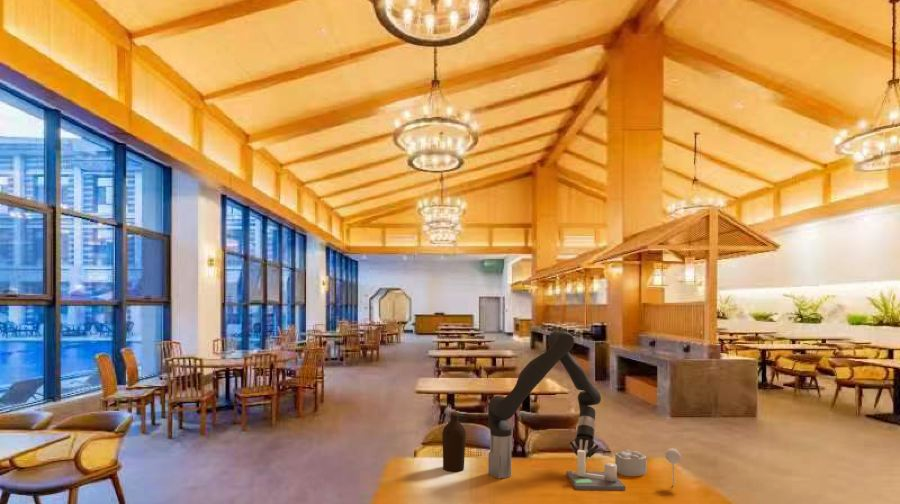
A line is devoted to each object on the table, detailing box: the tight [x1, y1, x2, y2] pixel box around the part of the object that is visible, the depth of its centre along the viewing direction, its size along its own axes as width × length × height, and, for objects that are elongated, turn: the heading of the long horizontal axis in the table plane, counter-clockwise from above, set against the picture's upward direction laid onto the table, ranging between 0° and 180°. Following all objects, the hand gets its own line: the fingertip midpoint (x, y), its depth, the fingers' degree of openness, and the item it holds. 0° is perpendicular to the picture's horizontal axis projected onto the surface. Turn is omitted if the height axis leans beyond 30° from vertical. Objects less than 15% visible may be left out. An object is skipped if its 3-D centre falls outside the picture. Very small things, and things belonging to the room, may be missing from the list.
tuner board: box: [565, 470, 626, 491], centre depth 225 cm, size 20×18×2 cm
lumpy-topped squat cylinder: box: [614, 449, 648, 477], centre depth 240 cm, size 10×13×9 cm
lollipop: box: [664, 447, 682, 486], centre depth 223 cm, size 6×6×15 cm
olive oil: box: [441, 410, 467, 473], centre depth 240 cm, size 11×11×25 cm
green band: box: [573, 479, 593, 483], centre depth 221 cm, size 7×4×1 cm, turn 96°
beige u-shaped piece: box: [571, 449, 618, 482], centre depth 226 cm, size 18×5×10 cm, turn 66°
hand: (582, 464), depth 230 cm, fingers closed
